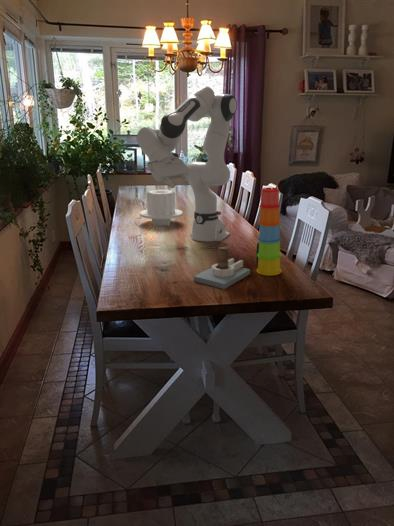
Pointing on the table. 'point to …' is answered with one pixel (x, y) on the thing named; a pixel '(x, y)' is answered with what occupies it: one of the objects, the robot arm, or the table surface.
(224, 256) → the walnut dowel
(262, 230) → the stacking cups
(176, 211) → the cake on stand
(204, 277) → the keyhole board
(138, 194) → the table surface
